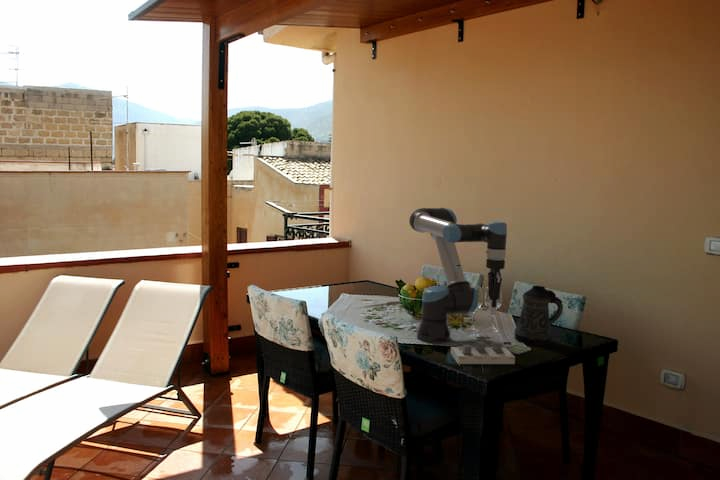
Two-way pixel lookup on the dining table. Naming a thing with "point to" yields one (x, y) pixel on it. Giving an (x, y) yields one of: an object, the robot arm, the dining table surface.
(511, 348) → the handheld gaming console
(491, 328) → the dining table surface
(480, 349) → the switch tab
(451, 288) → the robot arm
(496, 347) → the switch tab
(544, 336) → the beer stein
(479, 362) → the switch bank
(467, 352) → the switch tab
